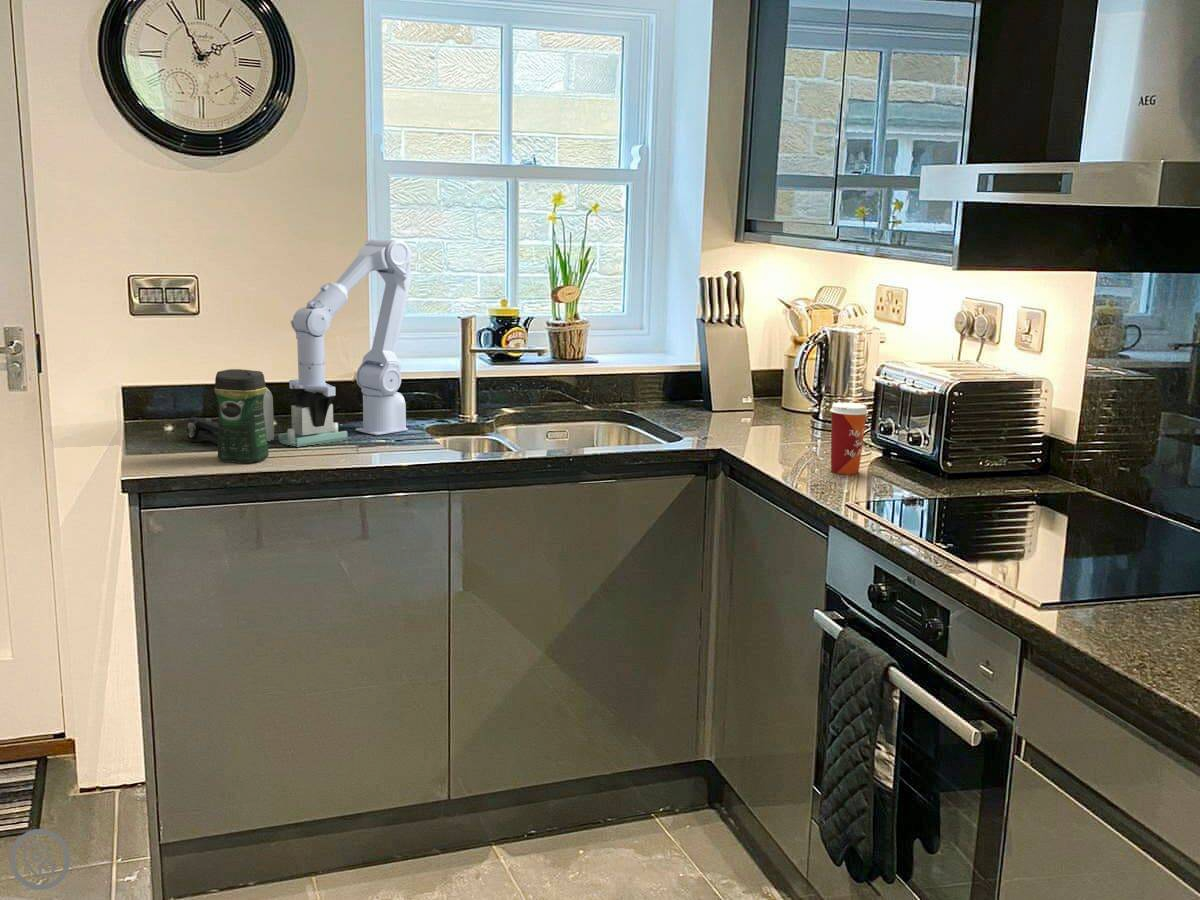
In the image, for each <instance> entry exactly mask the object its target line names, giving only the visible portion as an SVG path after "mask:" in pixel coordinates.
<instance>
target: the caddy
mask: <svg viewBox="0 0 1200 900" xmlns="http://www.w3.org/2000/svg"><path fill="white" fill-rule="evenodd" d="M343 440H346V441H349V440H348V431H347V430H342V431H339V423H338V422H334V421H333V431H329V432H323V433H316V434H309V435H299V434H295V429H292V428H288V429H287V432H285V433H278V443H279V442H280V443H284V444H288V445H293V446H296V447H300V446H307V445H314V446H316V445H315V444H320V445H324V444H323V443H327V444H332V443H331V442H333V443H338V442H337V441H339V442H344V441H343ZM280 443H279V444H280ZM284 444H283V445H284ZM288 445H287V446H288Z"/></svg>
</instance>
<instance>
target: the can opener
mask: <svg viewBox="0 0 1200 900" xmlns="http://www.w3.org/2000/svg"><path fill="white" fill-rule="evenodd" d="M218 431H219V422H215V421H212V419H211V418H200V417H195V416H193V417H192V416H191V417H190V418H189V419H187V421H186V432H187V439H188V440H189V441H190V442H194V443H203V442H212V443H215V444H216V445H218Z"/></svg>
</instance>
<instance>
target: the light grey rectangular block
mask: <svg viewBox="0 0 1200 900" xmlns="http://www.w3.org/2000/svg"><path fill="white" fill-rule="evenodd" d="M290 409H291V410H290V411H291V429H295V434H299V435H309V434H316V433H323V432H329V431H333V422H334V404H333V403H331V404H330V406H329V408H328V411H327V415H326V419H325V423H324V426H320V427H315V426H314V422H313V414H312V409H311V405H310V403H309V404H302V405H296V404H295V405H291V406H290Z"/></svg>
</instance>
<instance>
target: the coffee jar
mask: <svg viewBox="0 0 1200 900" xmlns="http://www.w3.org/2000/svg"><path fill="white" fill-rule="evenodd" d="M266 388H267V385H266V380H265V374H264V373H263V372H262V371H261V370H250V369H239V368H238V369H237V368H233V369H232V368H231V369H223V370H220V371H217V373H216V374H215V381H214V393H215V396H216V399H217V404H218V424H219V431H218V444H217V457H218V459H219V460H220V461H221V462H222V461H223V462H227V461H229V462H228V463H236V462H240V464H244V463H245V464H247V463H253V462H258V461H260V462H263V461H264V460H266V459H267V458H268V457H269V444H268V442H267V435H266V428H265V420H264V410H263V399H264V395H265V392H266ZM262 460H263V461H262Z"/></svg>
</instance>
